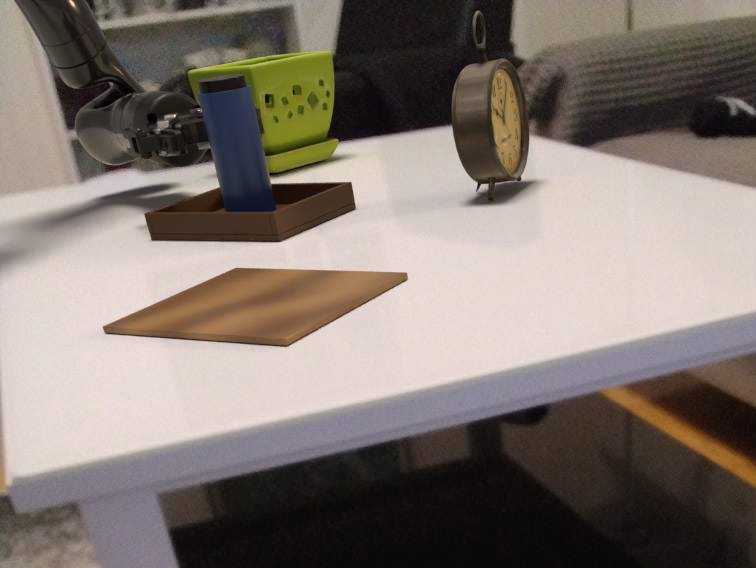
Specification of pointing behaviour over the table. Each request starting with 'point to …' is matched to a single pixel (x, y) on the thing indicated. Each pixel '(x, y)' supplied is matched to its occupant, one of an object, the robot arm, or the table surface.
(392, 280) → the wooden board
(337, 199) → the tray
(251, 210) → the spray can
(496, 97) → the alarm clock
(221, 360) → the table surface
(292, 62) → the flower pot
